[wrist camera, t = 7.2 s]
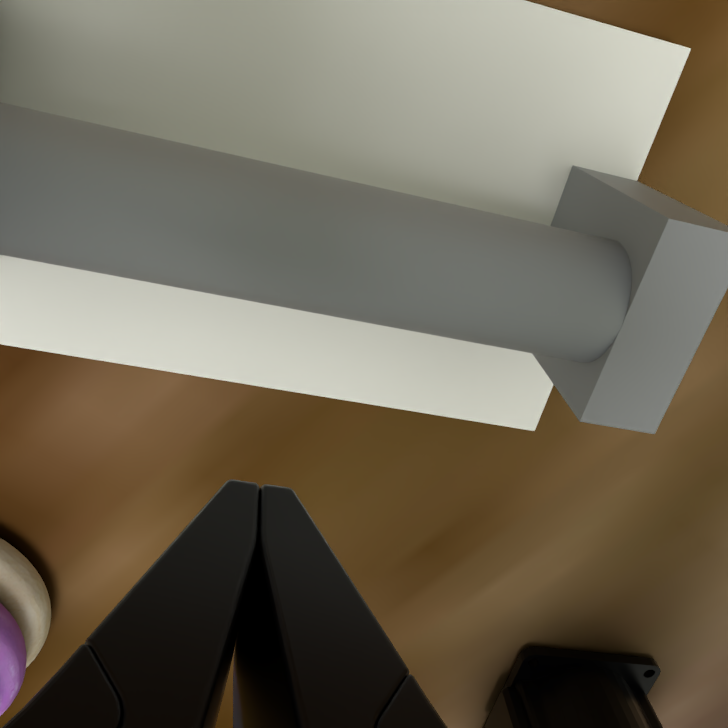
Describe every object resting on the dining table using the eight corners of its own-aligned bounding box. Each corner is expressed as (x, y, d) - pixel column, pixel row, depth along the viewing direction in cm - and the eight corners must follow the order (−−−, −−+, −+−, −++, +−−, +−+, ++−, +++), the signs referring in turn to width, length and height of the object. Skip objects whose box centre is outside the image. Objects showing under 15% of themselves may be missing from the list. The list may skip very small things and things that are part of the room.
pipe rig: (672, 46, 19) (847, 63, 13) (525, 415, 24) (602, 549, 18) (-462, -281, 14) (-1020, -497, 8) (-342, 270, 19) (-629, 389, 13)
